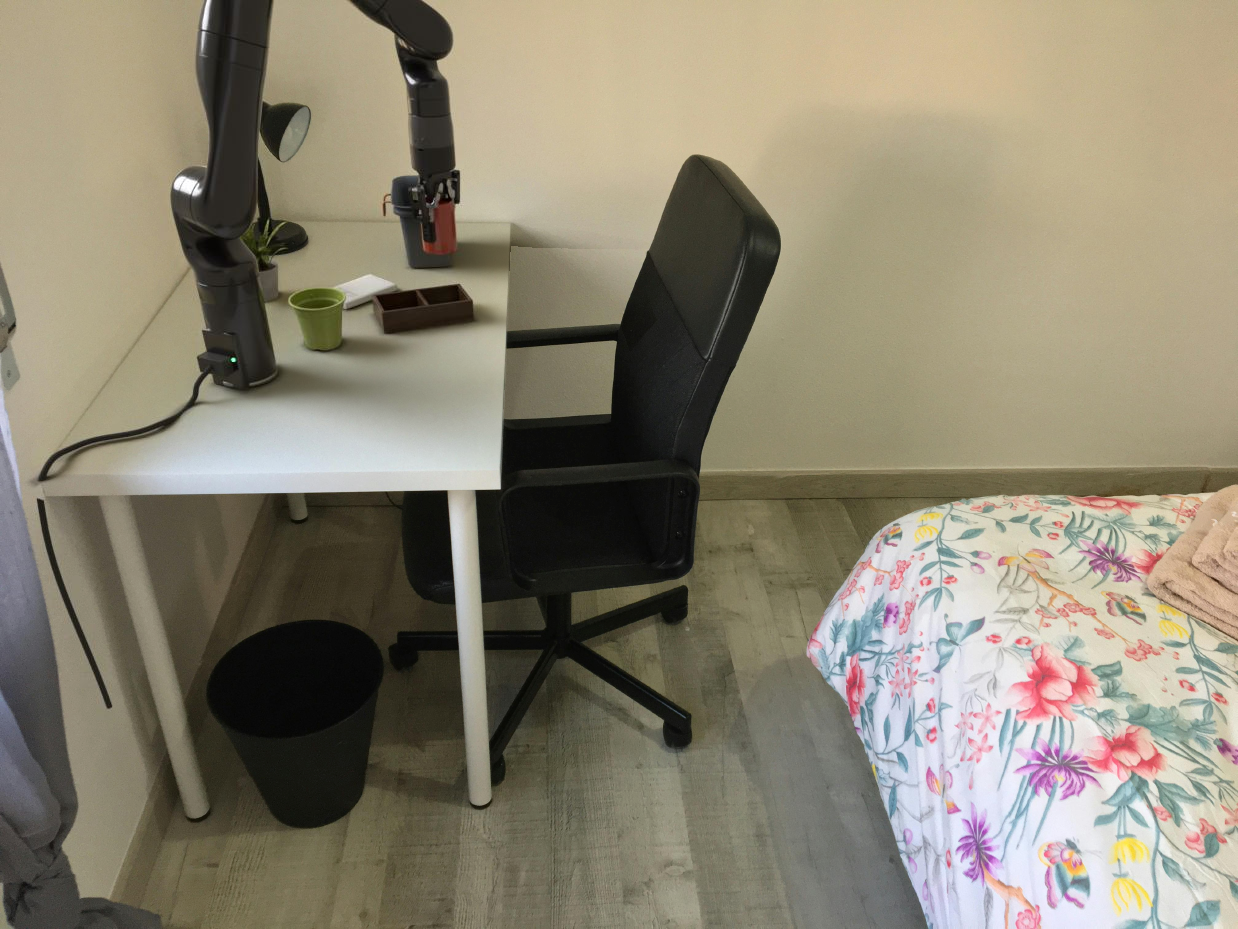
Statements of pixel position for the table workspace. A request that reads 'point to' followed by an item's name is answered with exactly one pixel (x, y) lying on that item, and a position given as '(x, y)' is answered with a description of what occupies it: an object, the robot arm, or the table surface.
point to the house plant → (265, 261)
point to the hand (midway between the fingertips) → (439, 235)
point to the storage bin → (412, 225)
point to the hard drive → (364, 289)
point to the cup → (443, 229)
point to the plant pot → (319, 316)
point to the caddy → (422, 308)
